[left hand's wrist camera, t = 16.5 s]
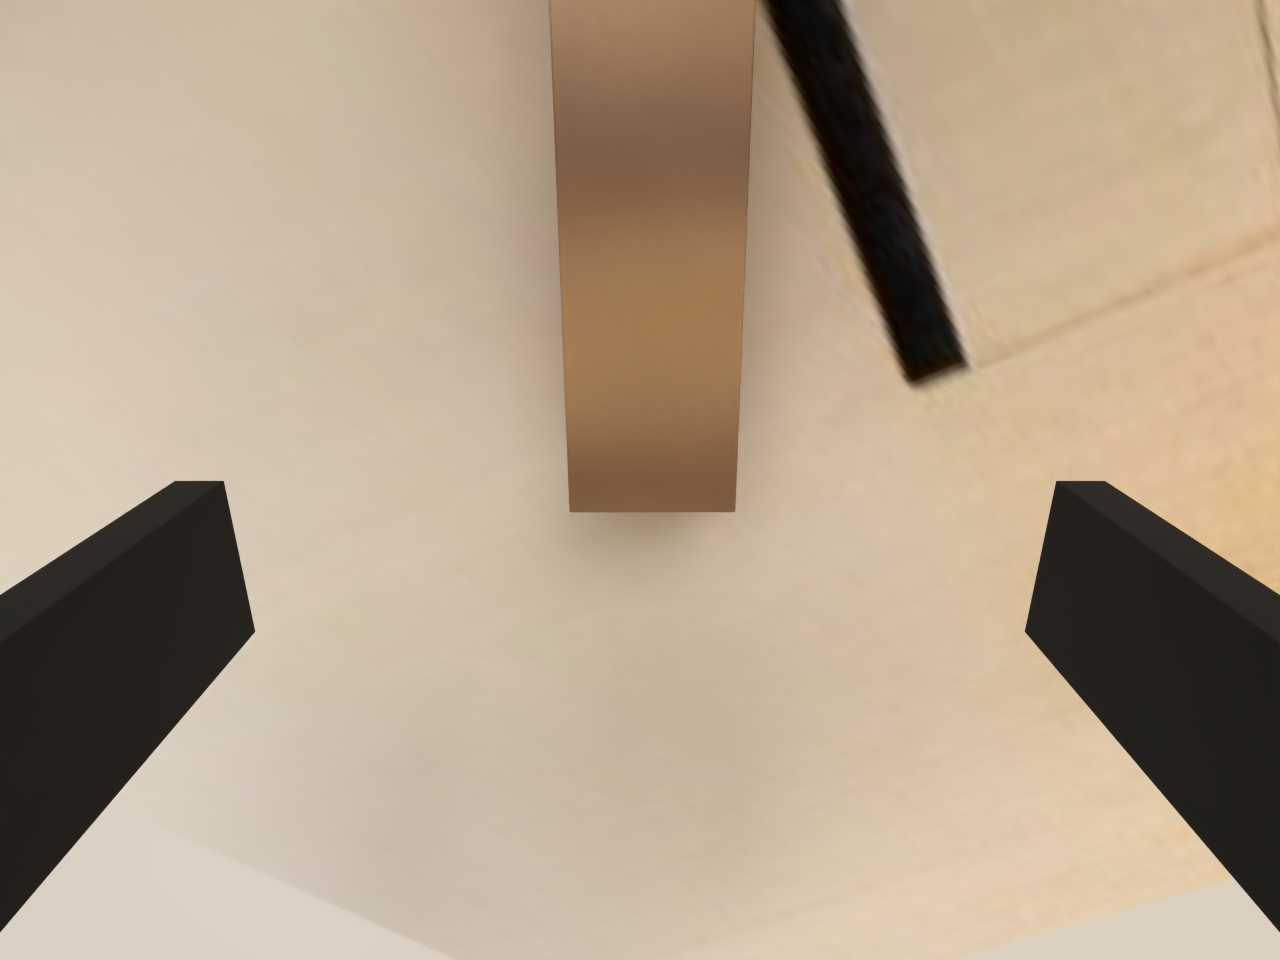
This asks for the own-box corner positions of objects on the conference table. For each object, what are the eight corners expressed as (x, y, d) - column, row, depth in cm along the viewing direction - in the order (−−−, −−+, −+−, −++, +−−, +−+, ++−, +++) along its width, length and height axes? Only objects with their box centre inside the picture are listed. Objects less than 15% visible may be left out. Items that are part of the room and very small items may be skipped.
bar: (715, 438, 33) (735, 512, 25) (587, 439, 33) (569, 512, 25) (734, -214, 25) (771, -390, 18) (568, -212, 25) (533, -387, 18)
